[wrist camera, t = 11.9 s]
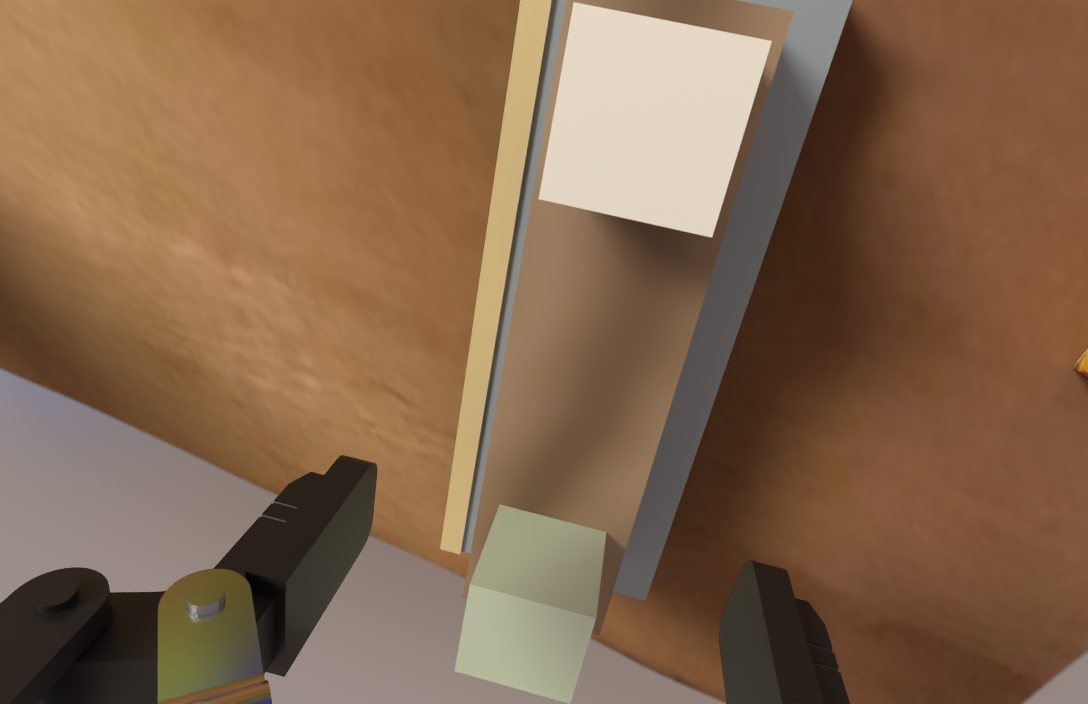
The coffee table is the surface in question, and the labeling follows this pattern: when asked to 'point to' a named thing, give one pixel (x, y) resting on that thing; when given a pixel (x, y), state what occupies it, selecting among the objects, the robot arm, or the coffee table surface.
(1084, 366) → the beverage box
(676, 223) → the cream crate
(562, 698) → the block
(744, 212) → the slate dock
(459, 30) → the coffee table surface
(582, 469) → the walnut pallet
